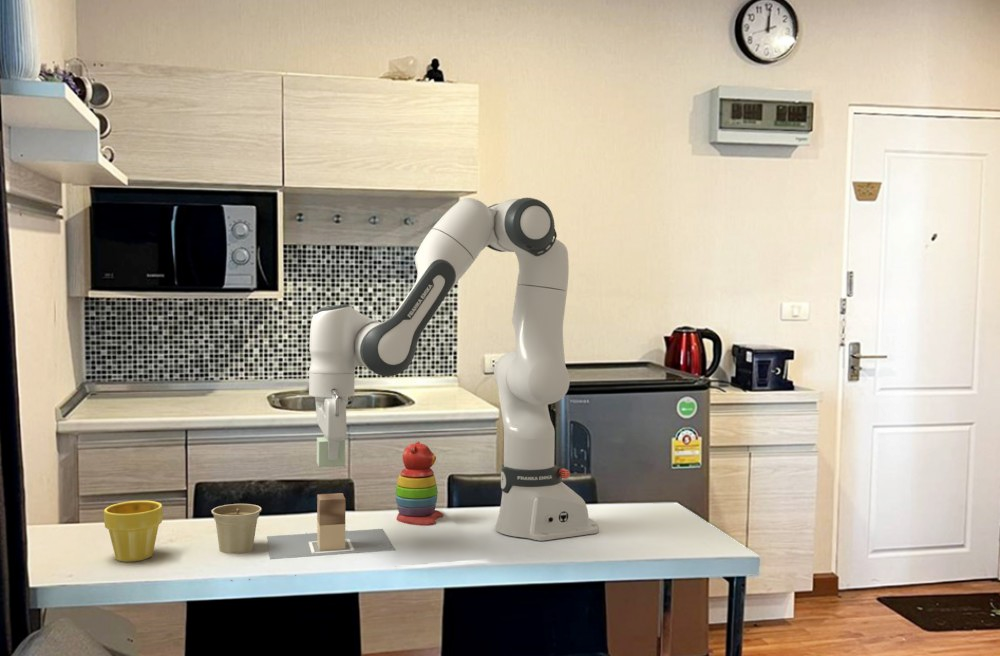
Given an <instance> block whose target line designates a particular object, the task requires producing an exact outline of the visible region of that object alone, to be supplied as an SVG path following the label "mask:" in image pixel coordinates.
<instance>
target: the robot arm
mask: <svg viewBox="0 0 1000 656" xmlns="http://www.w3.org/2000/svg"><path fill="white" fill-rule="evenodd" d="M555 227H556V226H555V219H554V216H553V212H552V210H551V209H550V207H549V206H548V205H547V204H546V203H544V202H543V201H541V200H540V199H537V198H532V197H522V198H513V199H512V198H511V199H507V200H505V201H503V202H500V203H495V204H492V205H490V206H487V205H486V204H485V202H482V201H481V200H479V199H476V198H471V197H465V198H463V199H460V200H458V201H457V202H456V203H455V204H454V205H453V206H452V207H450V208H449V209H448V210H447V211H446V212H445V213H444V214H443V215H442V217H441V218H440V219H438V221H437V222H436V223H435V224H434V226H432V228H431V229H429V230H430V231H428V233H427V234H426V236H425V238H423V240H422V242H421V244H420V245H419V247H418V249H417V251H416V253H415V256H414V263H415V268H416V270H417V276H416V280H415V283H414V284H413V286H412V287H411V290H410V291H409V292H408V294H407V295H406V297H405V298H404V299H403V301H402V302H401V304H400V305H399V307H398V308H397V309H396V311H395V312H394V314H393V315H392V316H391V317H389V319H386V320H385V321H378V320H376V319H373V318H371V317H369V316H367V315H365V314H362V313H361V312H360V311H357V310H356V309H355V308H353V307H352V305H350V304H341V303H340V304H334V305H329V306H323V307H321V308H319V309H317V310H316V311H315V312H314V313H313V315H312V318H311V323H310V328H309V329H310V330H309V353H310V357H311V358H310V359H311V363H310V366H309V370H308V395H309V396H310V397H313V398H314V401H315V412H316V420H317V425H318V427H319V428H320V430H321V432H322V433H323V437H326V438H327V440H328V458H329V459H330V460H337V459H338V448H339V441H341V440H345V441H346V439H347V438H346V437H347V407H346V406H347V405H348V403H349V400H348V399H349V398H350V397H353V396H355V373H356V371H355V370H356V368H357V367H364V368H365V369H368V370H370V371H372V373H374V374H376V375H379V376H382V377H394V376H397V375H399V374H401V373H403V372H404V371H406V370H407V369H408V368H409V367H410V365H411V363H412V362H413V360H414V356H415V354H416V350H417V346H418V343H419V339H420V337H421V335H422V333H423V331H424V330H425V328H426V327H427V325H428V324H429V322H430V321H431V319H432V317H433V316H434V315H435V313H436V312H437V311H438V309H439V307H440V306H441V305H442V303H443V301H444V300H445V298H446V297H447V295H448V294H449V292H450V291H451V290H452V289H453V288H454V286H455V285H456V284H457V283H458V282H459V280H460V279H462V277H464V275H465V274H466V272H468V270H469V269H470V267H471V266H472V264H473V263H474V262H475V261H476V259H477V258H478V257H479V255H480V254H481V252H482V251H484V249H486V247H487V248H488V249H490V250H492V251H496V252H500V253H501V252H502V253H505V252H506V253H507V252H509V253H514V254H515V256H516V259H517V261H518V262H517V263H518V275H517V280H516V287H515V296H514V302H513V303H514V304H513V311H512V318H511V319H512V320H511V321H512V326H513V329H514V335H515V338H514V339H515V346H516V347H515V350H511V351H508V352H507V353H505V354H503V355H501V356H500V357H499V358H498V360H497V361H496V363H495V366H494V370H493V375H494V376H493V377H494V380H495V382H496V385H497V392H498V398H499V399H498V400H499V404H500V405H499V406H500V411H501V416H502V425H503V464H501V472H500V488H501V501H500V508H499V512H498V513H499V514H498V517H497V520H496V521H497V522H496V524H495V530H496V531H497V532H498V533H500V534H502V535H507V536H510V537H515V538H516V537H517V538H524V539H529V540H535V541H549V540H557V539H563V538H564V539H565V538H570V537H579V536H584V535H592V534H598V533H599V531H600V528H599V525H598V524H599V523H597V522H596V521H594V520H593V519H592V518H590V517H589V513H588V512H589V511H588V507H587V503H586V501H585V500H584V498H582V496H580V495H579V494H577V492H575V491H574V490H573V489H571V488H570V487H569V486H568V485H566V484H565V483H564V482H563V479H564V480H568V479H569V478H570V477H571V473H570V471H569V470H568V469H566V468H562V467H559V466H558V465H556V464H555V446H556V445H555V435H556V434H555V433H556V431H555V427H554V425H553V422H552V420H551V416H550V411H549V405H551V404H554V403H557V402H559V401H561V400H562V399H563V398H564V397H565V395H566V394H567V393H568V391H569V388H570V381H571V379H570V373H569V370H568V368H567V367H566V360H565V359H566V358H565V347H564V346H565V344H564V319H565V312H566V311H565V310H566V304H567V303H566V302H567V294H568V287H569V268H570V267H569V266H570V265H569V252H568V248H567V246H566V245H565V244H564V243H563V242H562V241H560V240H558V239H557V238H558V235H557V231H556V228H555Z"/></svg>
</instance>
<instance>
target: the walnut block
mask: <svg viewBox="0 0 1000 656" xmlns="http://www.w3.org/2000/svg"><path fill="white" fill-rule="evenodd" d="M316 499H317V502H316V504H317V505H316V507H317V509H316V511H317V513H316V514H317V515H316V517H317V518H316V520H318V523H319V525H320V526H322V525H337V524H345V525H346V498H345V495H344V493H343V492H342V493H341V492H336V493H321V494H320V493H319V494H317V495H316Z"/></svg>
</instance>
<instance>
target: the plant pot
mask: <svg viewBox="0 0 1000 656" xmlns="http://www.w3.org/2000/svg"><path fill="white" fill-rule="evenodd" d="M103 518H104V519H103V521H104V527H105V529H106V530H108V533H109V536H110V541H111V545H112V548H113V553H114V556H115V560H117V561H118V562H122V563H123V562H127V563H130V562H132V563H133V562H139V561H144V560H148V559H150V558H151V557H152V556H153V555H154V552H155V551H154V550H155V546H156V545H155V544H156V542H157V535H158V529H159V526H160V524H162V523H163V522H162V521H163V504H162V503H161V502H159V501H158V502H157V501H152V500H133V501H132V500H131V501H123V502H118V503H115V504H111V505H109V506H107V507H106V508H104V510H103Z"/></svg>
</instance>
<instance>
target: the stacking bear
mask: <svg viewBox="0 0 1000 656" xmlns="http://www.w3.org/2000/svg"><path fill="white" fill-rule="evenodd" d="M436 457H437V456H436V455H435V453H433V452H432V450H431V449H430V448H429V446H428V445H426V444H424V443H421V442H420V441H416V442H415V443H412V444H411V443H410V444H409V445H407V446H406V447H405V448H404V450H403V451H402V462H403V466H404V468H403V469H402V470H401V471H400V474H399V475H398V478H397V483H396V484H397V485H396V487H395V501H396V504H397V505H396V506H397V510H398V514H397V516H396V521H397V522H399V523H403V524H406V525H412V526H422V527H426V526H427V527H428V526H429V527H430V526H434V525H435V524H437V522H436V520H438V519H442V518H443V517H444V513H443V512H442V511H440V510H436V506H437V500H438V485H437V481H436V476H435V473H434V471H433V469H431V468H432V467H433V466H434V465H435V462H436V459H437V458H436Z"/></svg>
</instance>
